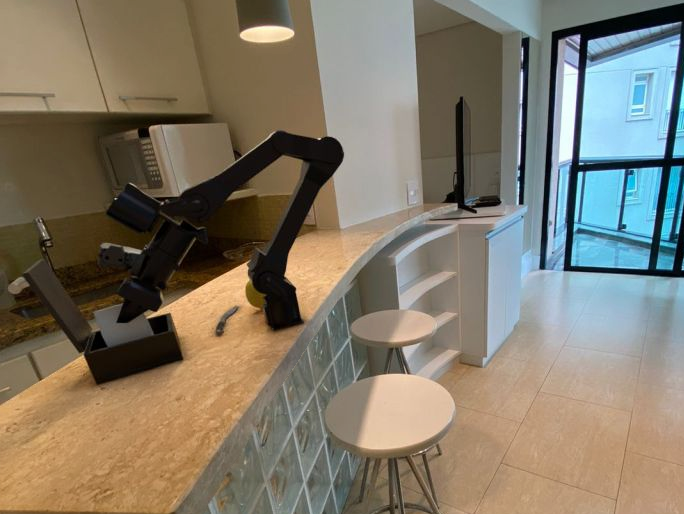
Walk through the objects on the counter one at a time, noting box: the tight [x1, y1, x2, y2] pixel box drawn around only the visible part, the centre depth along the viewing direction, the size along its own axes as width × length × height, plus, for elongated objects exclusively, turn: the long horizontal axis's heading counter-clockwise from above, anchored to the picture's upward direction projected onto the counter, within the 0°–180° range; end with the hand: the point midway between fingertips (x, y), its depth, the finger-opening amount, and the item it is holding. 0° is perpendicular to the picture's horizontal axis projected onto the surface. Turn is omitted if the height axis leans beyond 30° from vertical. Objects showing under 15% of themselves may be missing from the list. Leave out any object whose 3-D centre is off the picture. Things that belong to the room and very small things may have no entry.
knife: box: [215, 305, 239, 335], centre depth 90 cm, size 17×1×3 cm
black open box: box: [83, 312, 184, 386], centre depth 75 cm, size 14×12×6 cm
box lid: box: [7, 258, 93, 354], centre depth 67 cm, size 14×12×4 cm
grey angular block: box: [92, 303, 154, 347], centre depth 73 cm, size 4×7×10 cm, turn 115°
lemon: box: [244, 279, 266, 311], centre depth 93 cm, size 6×6×8 cm
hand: (119, 323), depth 72 cm, fingers closed on grey angular block
